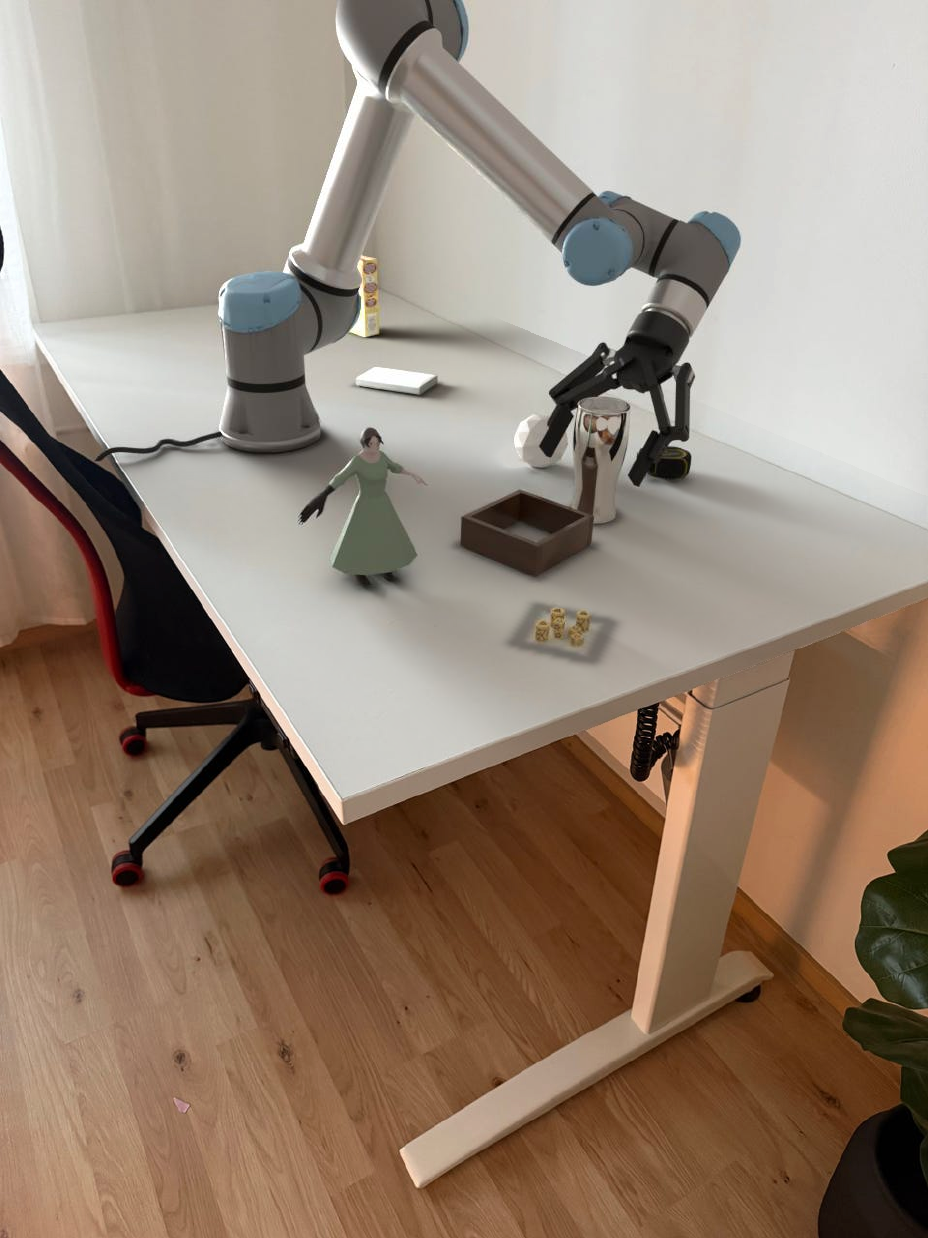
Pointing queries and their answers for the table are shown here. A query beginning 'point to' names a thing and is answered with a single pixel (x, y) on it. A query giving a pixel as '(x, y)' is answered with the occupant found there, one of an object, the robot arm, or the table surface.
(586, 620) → the dice set
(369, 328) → the candy box
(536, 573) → the tray
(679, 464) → the tape measure
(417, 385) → the hard drive
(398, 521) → the character figurine
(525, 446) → the geometric ball
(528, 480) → the table surface
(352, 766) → the table surface
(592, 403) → the beer glass
